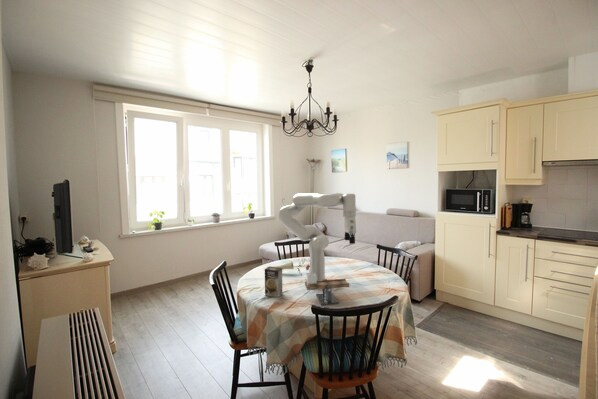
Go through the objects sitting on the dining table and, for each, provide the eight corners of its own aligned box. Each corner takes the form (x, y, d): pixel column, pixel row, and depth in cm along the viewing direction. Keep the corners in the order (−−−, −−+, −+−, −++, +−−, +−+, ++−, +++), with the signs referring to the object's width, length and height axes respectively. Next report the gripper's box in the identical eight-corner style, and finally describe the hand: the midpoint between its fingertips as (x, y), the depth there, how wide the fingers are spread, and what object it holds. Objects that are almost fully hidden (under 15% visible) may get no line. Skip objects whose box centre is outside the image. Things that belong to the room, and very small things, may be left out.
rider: (307, 286, 159) (307, 275, 159) (306, 283, 163) (306, 273, 163) (316, 285, 160) (316, 275, 160) (314, 282, 164) (314, 272, 164)
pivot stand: (321, 305, 156) (320, 287, 156) (316, 295, 169) (315, 279, 168) (338, 303, 158) (338, 286, 157) (332, 294, 171) (332, 278, 170)
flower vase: (271, 281, 214) (317, 272, 210) (267, 282, 203) (315, 273, 198) (269, 265, 217) (314, 256, 213) (264, 265, 206) (311, 256, 201)
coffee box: (264, 295, 170) (264, 269, 169) (269, 291, 176) (268, 266, 175) (278, 297, 167) (277, 270, 166) (282, 293, 173) (282, 267, 172)
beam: (307, 290, 157) (307, 286, 157) (305, 285, 165) (305, 281, 165) (349, 287, 161) (349, 283, 161) (345, 282, 168) (345, 278, 168)
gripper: (360, 215, 165) (360, 244, 166) (351, 212, 182) (351, 238, 183) (347, 215, 164) (347, 245, 165) (339, 212, 181) (340, 239, 182)
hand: (349, 241), depth 174 cm, fingers open, 9 cm apart
